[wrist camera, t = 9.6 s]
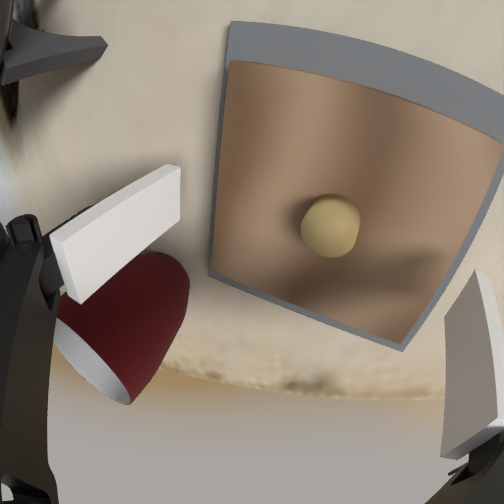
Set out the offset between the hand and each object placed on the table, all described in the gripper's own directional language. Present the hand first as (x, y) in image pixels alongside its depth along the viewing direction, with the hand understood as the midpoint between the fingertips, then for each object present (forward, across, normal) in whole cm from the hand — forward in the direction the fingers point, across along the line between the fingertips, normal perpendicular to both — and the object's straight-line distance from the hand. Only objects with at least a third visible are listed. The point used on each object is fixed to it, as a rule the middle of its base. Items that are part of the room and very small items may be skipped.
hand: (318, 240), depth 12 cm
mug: (+4, -12, -11) cm, 16 cm away
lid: (+4, 0, 0) cm, 4 cm away
